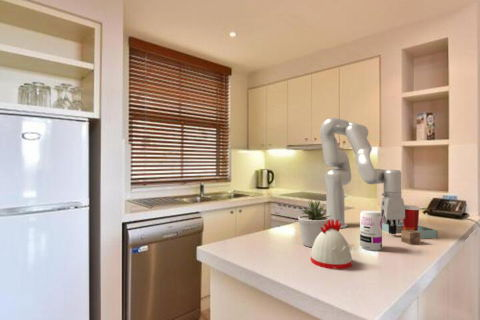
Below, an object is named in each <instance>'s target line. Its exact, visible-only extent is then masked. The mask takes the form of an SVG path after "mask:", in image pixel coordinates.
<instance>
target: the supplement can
mask: <svg viewBox="0 0 480 320" xmlns="http://www.w3.org/2000/svg"><path fill="white" fill-rule="evenodd" d="M382 223H383V221H382V215H381V211H380V210H379V211H378V210H371V209H365V210H364V209H362V210H361V211H360V214H359V246H360V247H361V249H364V250H366V251H367V250H368V251H371V252H374V251H377V252H378V251H380V250H381V249H383V230H382Z"/></svg>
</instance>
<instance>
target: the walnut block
mask: <svg viewBox="0 0 480 320" xmlns="http://www.w3.org/2000/svg"><path fill="white" fill-rule="evenodd" d="M400 236H401V237H400V238H401V240H400V241H401V242H403V243H405V244H407V245H409V246H410V245H411V246H412V245H421V239H420V232H416V231H413V230H401V235H400Z"/></svg>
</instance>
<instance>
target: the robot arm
mask: <svg viewBox="0 0 480 320" xmlns="http://www.w3.org/2000/svg"><path fill="white" fill-rule="evenodd" d="M335 134H336V135H342V136H345V137H346V139H348V143H349V144H350V146H351V149H352V151H353V153H354V155H355V157H354V158H355V165H356V168H357V171H358V172H359V175H360V177H361V179H362V180H363V182H365V183H366V184H367V185H378V184H383V193H381V196H382V199H381V206H380V214H381V215H382V223H387V224H388V225H389V232H388V234H390V235H397V233H396V226H398V223H399V222H403V219H405V206H404V205H405V202H404V201H405V200H404V198H403V197H402V171H401V170H399V169H381V168H375V167H374V165H373V163H372V161H371V153H372V150H373V147H372V145H371V143H370V142H369V139H368V136H369V129H368V128H367V126H365V125H363V124H361V123H360V124H359V123H356V122H353V121H349V120H346V119H342V118H339V117H330V118H327V119H326V120H324V121H323V122H322V123H321V125H320V128H319V137H320V141H321V147H322V155H323V161H324V163H325V165H326V166H327V167H331V168H332V169H329V170H328V171H326V173H325V175H324V183H325V184H324V185H325V192H326V193H325V194H326V195H325V196H326V202H325V205H326V213H327V214H326V216H329V217H327V218H328V219H329V220H330V223H331V220H334V225H335V221H336V220H338V225H339V223H342V224H341V227H340V229H344V228H347V227H348V226H349V225H348V223H346V222H345V216H346V215H345V190H344V187H343V186H346V185H349V183H350V182H351V180H352V170H351V165H350V158H349V156H348V154H347V153H346V152H345V151H343V150H340V149H339V145H338V144H339V143H338V139H337V137H336V136H335ZM330 215H332V216H330Z"/></svg>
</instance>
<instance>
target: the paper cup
mask: <svg viewBox="0 0 480 320" xmlns="http://www.w3.org/2000/svg"><path fill="white" fill-rule="evenodd" d="M404 206H405V219H403V221H402V222H403V229H404V230H413V231H418V225H419V220H420V219H419V217H420V216H419V215H420V210H421V209H420V207H419V206H418V205H412V204H409V205H408V204H404Z"/></svg>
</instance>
